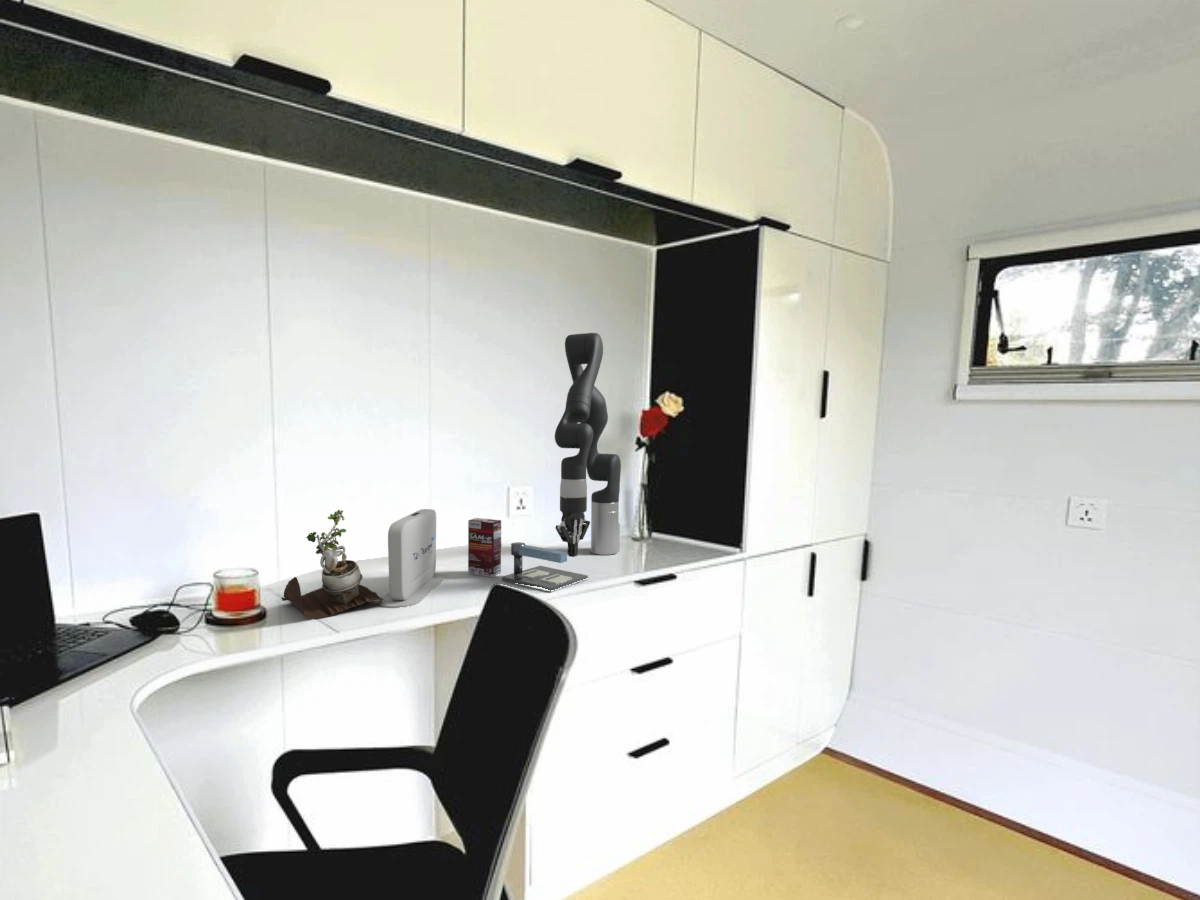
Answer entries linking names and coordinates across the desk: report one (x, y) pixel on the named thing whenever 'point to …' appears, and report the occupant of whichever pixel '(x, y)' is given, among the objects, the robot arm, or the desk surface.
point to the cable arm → (537, 552)
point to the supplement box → (484, 547)
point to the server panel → (541, 576)
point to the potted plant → (331, 580)
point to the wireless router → (412, 559)
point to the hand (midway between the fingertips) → (572, 556)
